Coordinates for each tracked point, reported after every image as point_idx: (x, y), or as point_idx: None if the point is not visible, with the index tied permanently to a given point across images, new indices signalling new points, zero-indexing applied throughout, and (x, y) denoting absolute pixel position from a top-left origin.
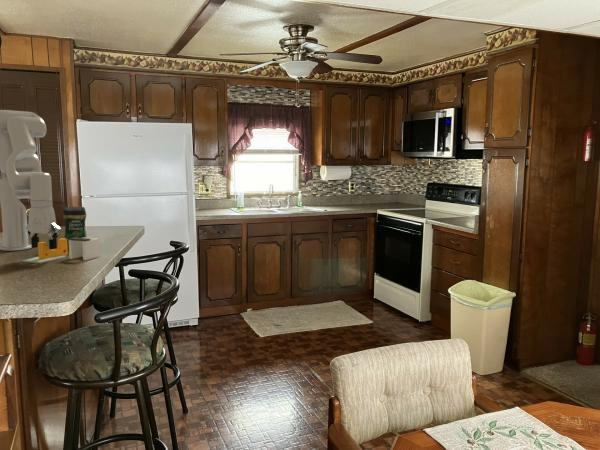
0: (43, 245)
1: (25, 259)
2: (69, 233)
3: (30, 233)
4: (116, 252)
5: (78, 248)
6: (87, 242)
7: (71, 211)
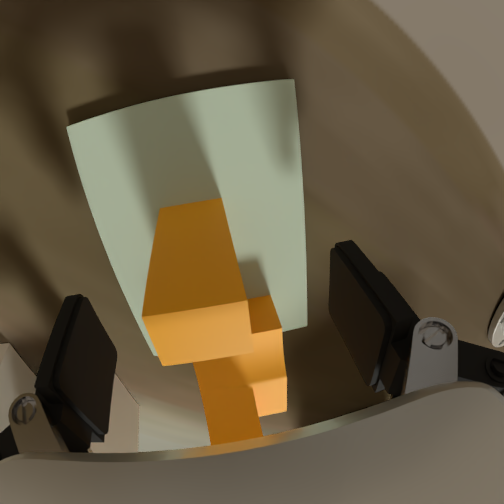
0: (149, 300)
1: (295, 112)
2: None
3: (469, 369)
4: None
5: None
6: None
7: None
